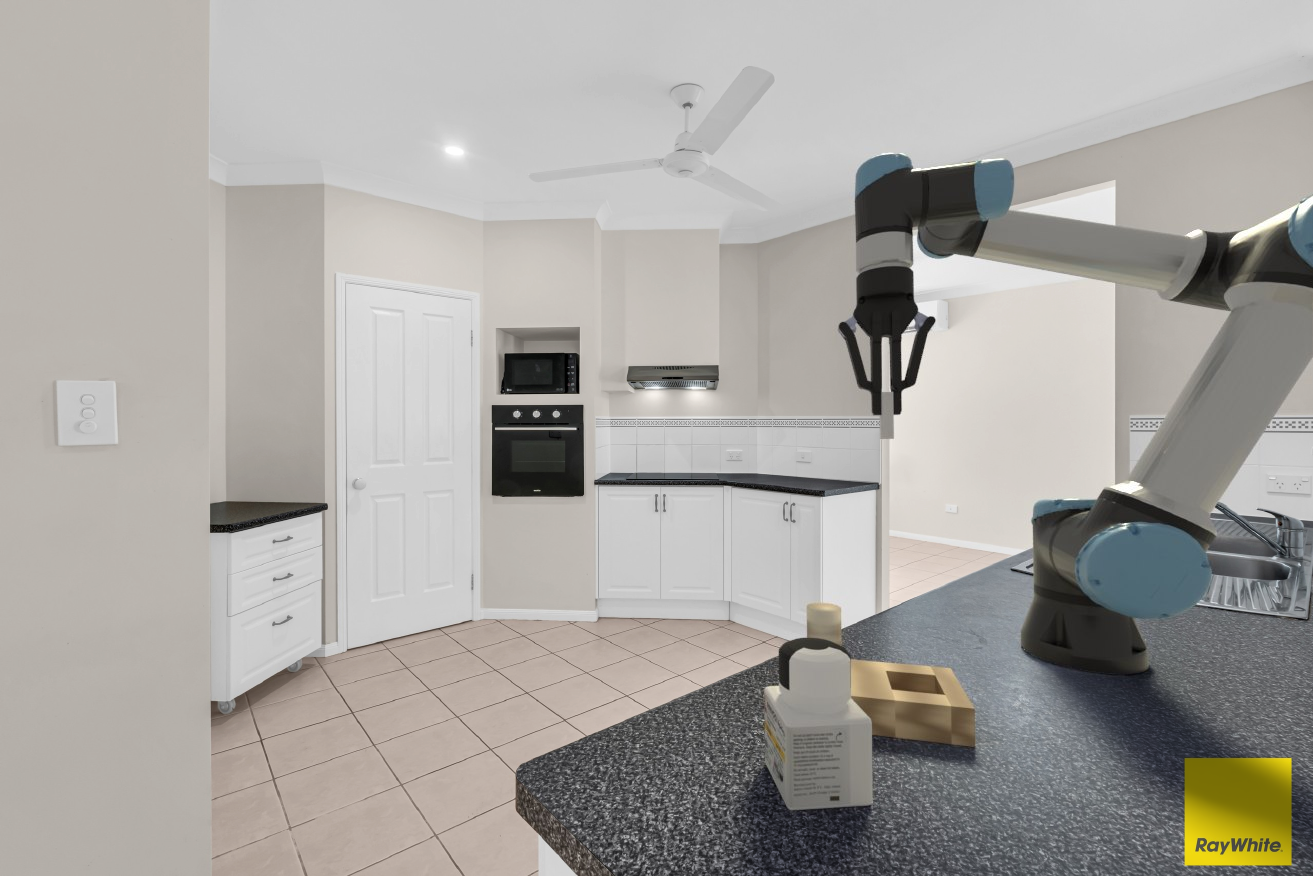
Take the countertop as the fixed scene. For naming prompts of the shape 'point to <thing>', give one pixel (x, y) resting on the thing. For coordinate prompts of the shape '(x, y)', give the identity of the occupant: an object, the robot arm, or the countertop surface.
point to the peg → (824, 622)
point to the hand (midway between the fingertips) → (886, 438)
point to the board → (913, 702)
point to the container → (817, 729)
